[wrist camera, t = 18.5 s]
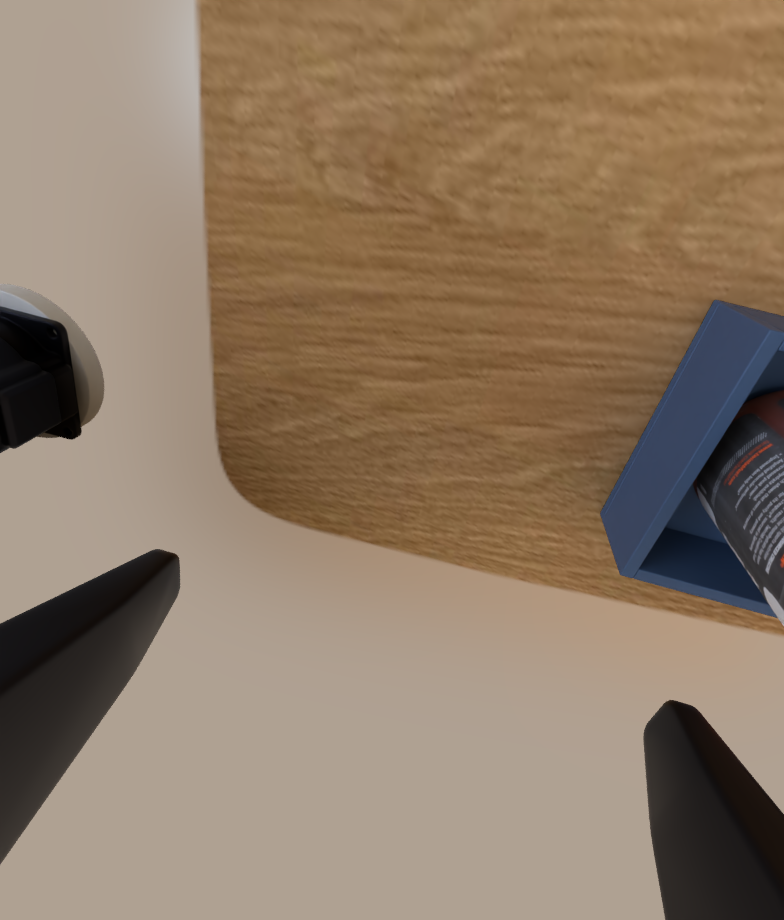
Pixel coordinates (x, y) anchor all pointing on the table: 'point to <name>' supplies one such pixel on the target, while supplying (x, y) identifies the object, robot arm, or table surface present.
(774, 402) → the supplement bottle
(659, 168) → the table surface
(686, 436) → the blue open box
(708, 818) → the robot arm
